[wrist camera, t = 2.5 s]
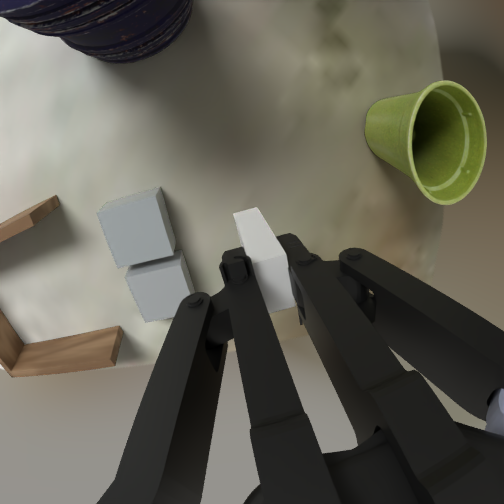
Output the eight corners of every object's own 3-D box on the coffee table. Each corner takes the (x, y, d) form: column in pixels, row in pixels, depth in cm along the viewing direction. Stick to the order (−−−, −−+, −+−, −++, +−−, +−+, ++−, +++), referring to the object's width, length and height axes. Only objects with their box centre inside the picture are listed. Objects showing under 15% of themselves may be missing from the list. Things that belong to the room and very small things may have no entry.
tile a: (107, 201, 22) (96, 212, 20) (160, 186, 23) (155, 195, 20) (125, 252, 25) (117, 268, 22) (176, 239, 25) (173, 254, 22)
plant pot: (435, 141, 24) (497, 159, 17) (381, 195, 26) (438, 229, 19) (393, 65, 20) (458, 60, 13) (327, 119, 22) (385, 126, 15)
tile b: (131, 260, 25) (124, 277, 23) (182, 248, 26) (180, 264, 23) (149, 303, 28) (145, 322, 25) (196, 293, 28) (196, 312, 25)
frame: (-38, 247, 20) (-61, 267, 16) (56, 195, 21) (29, 213, 16) (24, 350, 28) (11, 377, 23) (123, 332, 28) (115, 365, 24)
